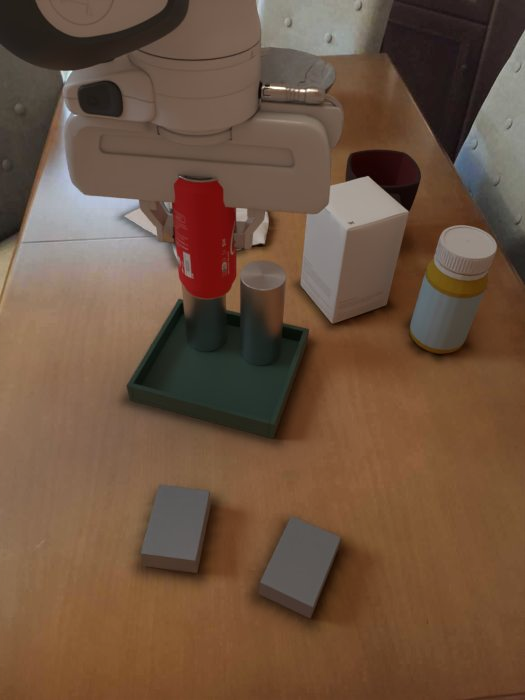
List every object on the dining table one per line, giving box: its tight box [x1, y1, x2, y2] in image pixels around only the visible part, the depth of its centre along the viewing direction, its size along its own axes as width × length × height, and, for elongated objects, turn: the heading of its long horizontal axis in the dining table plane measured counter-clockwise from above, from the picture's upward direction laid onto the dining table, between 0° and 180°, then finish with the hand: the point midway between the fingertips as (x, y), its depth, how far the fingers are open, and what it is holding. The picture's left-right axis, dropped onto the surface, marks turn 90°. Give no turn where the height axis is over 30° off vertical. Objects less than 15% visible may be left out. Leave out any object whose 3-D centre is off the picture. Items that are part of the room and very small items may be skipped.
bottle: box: [409, 224, 498, 355], centre depth 71 cm, size 7×7×15 cm
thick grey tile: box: [140, 484, 212, 574], centre depth 56 cm, size 5×7×3 cm
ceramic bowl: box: [260, 46, 337, 99], centre depth 111 cm, size 22×23×10 cm
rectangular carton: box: [300, 176, 410, 325], centre depth 76 cm, size 9×9×15 cm
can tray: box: [126, 298, 310, 439], centre depth 71 cm, size 17×15×3 cm
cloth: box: [124, 202, 270, 260], centre depth 92 cm, size 20×22×2 cm
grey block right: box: [258, 515, 342, 619], centre depth 54 cm, size 5×7×3 cm
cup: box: [344, 148, 422, 213], centre depth 85 cm, size 10×14×12 cm
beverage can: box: [172, 175, 237, 299], centre depth 50 cm, size 5×5×12 cm
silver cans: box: [181, 260, 287, 365], centre depth 70 cm, size 12×5×12 cm, turn 73°
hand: (205, 241), depth 51 cm, fingers closed on beverage can, 5 cm apart
